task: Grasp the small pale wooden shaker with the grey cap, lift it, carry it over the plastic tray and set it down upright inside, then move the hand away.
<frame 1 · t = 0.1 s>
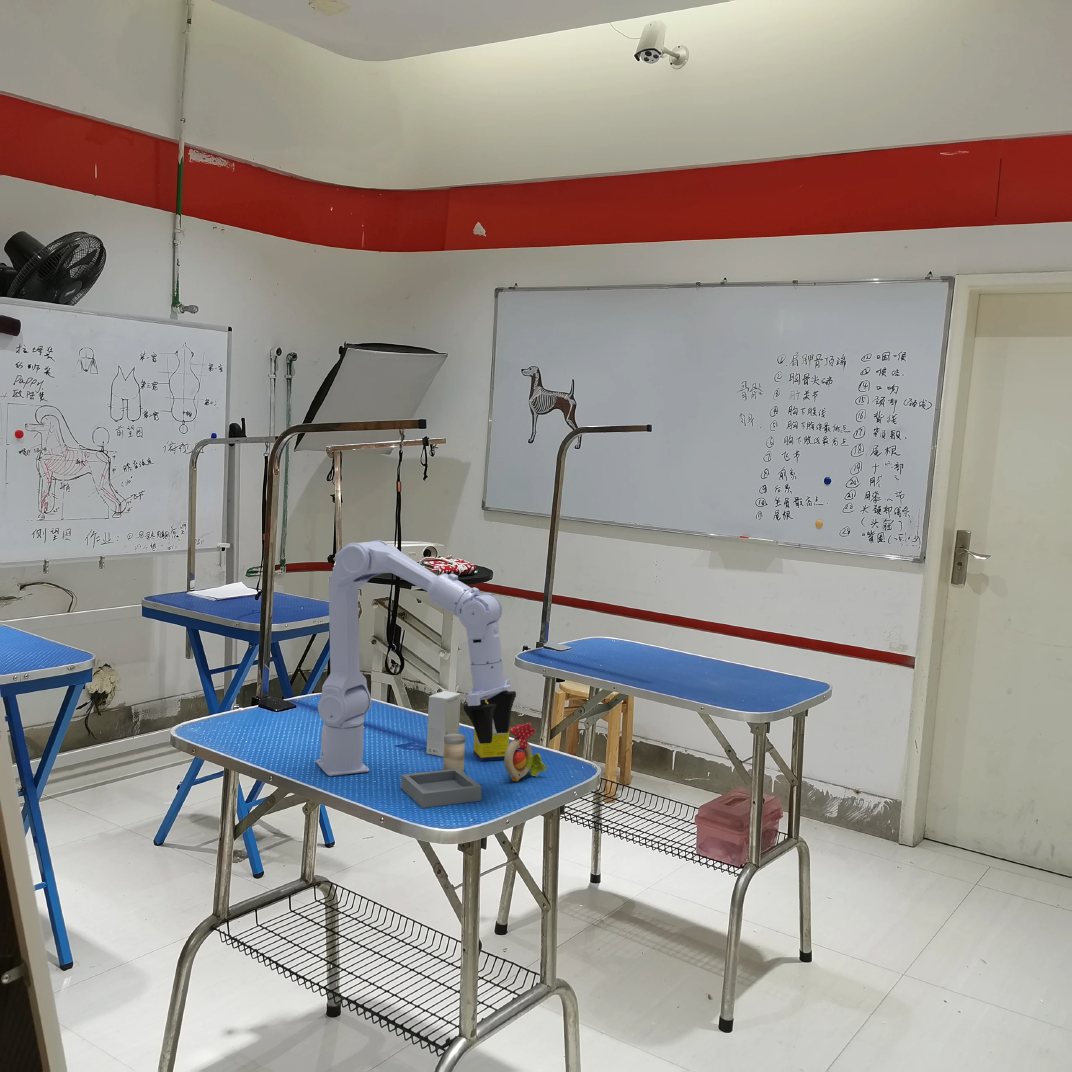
hand: (494, 737, 179), 11 cm above the table, tool pointing down, fingers open, 7 cm apart
tray: (440, 794, 179), on the table
supplement box: (490, 757, 203), on the table
bird rattle: (522, 779, 190), on the table
shaker: (453, 772, 192), on the table
skincare box: (442, 753, 205), on the table
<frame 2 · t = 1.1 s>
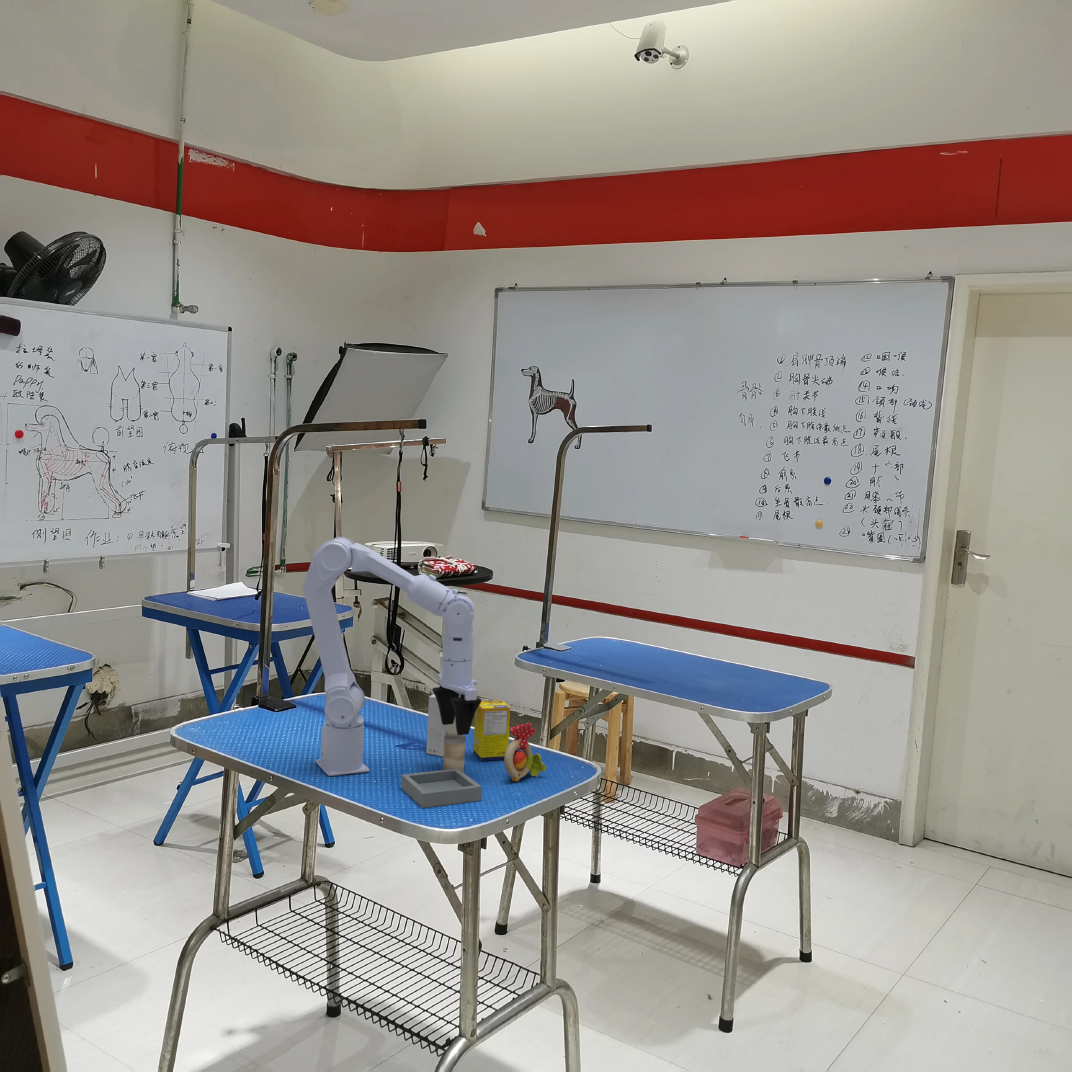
hand: (455, 729, 192), 8 cm above the table, tool pointing down, fingers open, 7 cm apart
nothing on the table moved.
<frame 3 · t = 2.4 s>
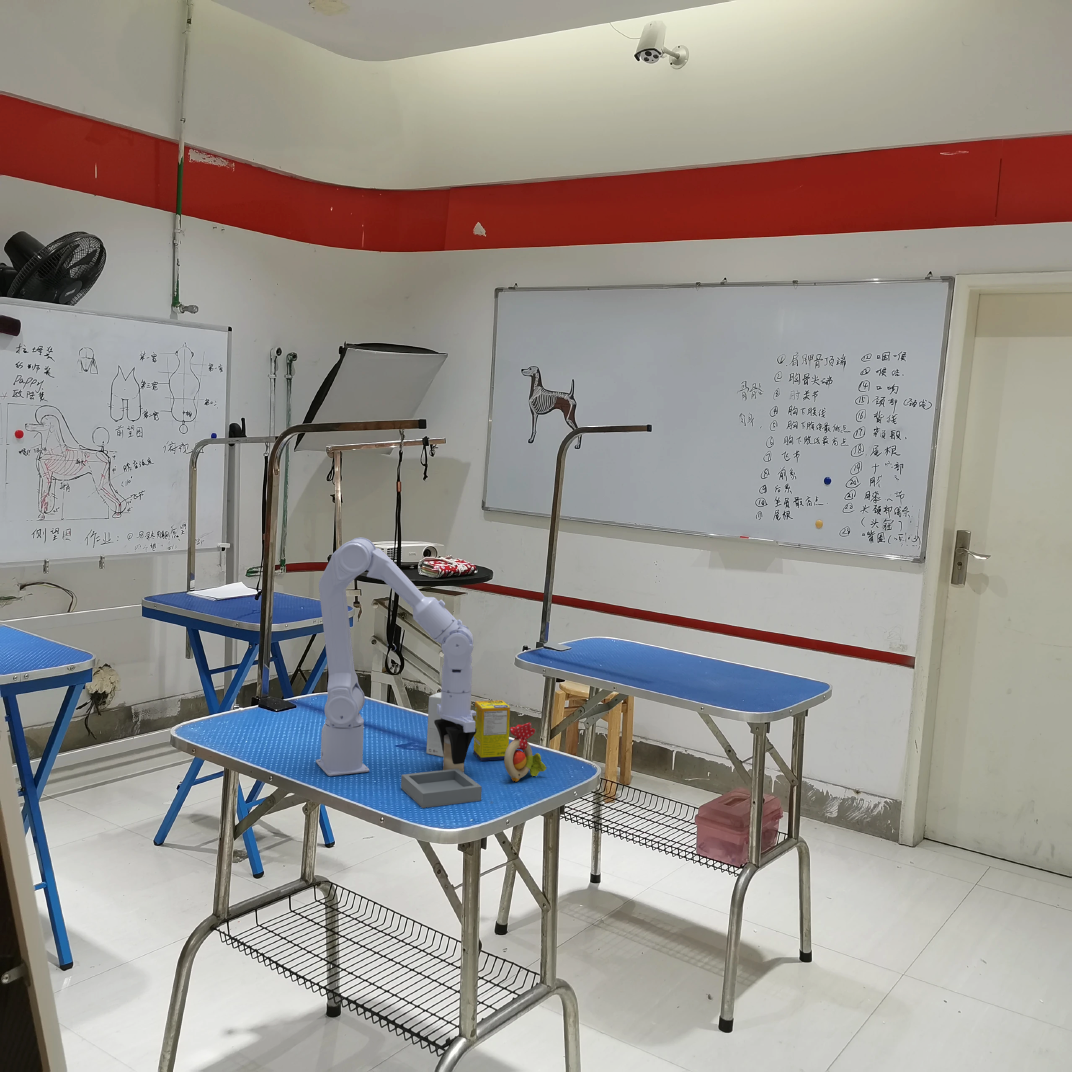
hand: (453, 759, 192), 2 cm above the table, tool pointing down, fingers closed on shaker, 4 cm apart
shaker: (453, 772, 192), on the table, touching gripper
everything else where it was.
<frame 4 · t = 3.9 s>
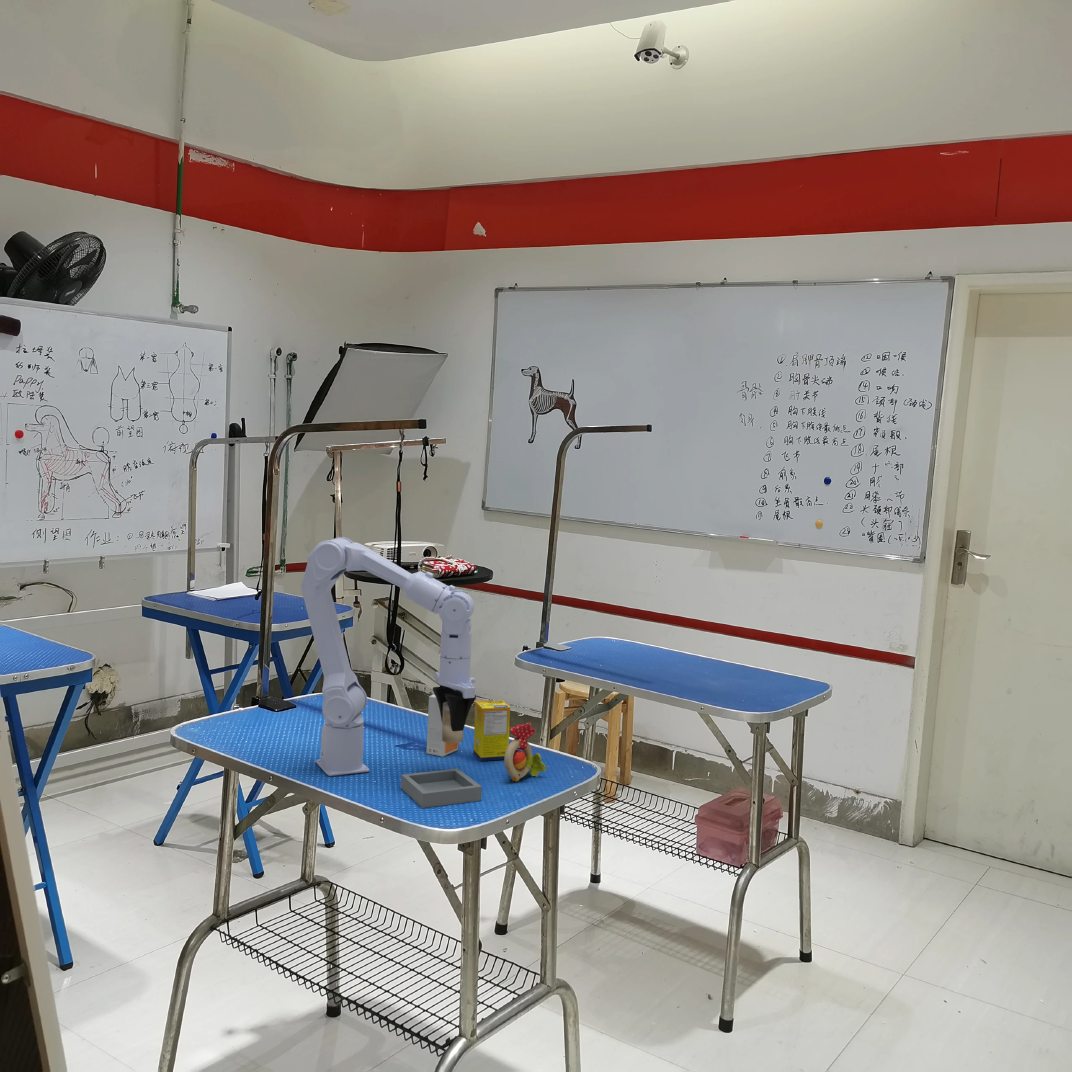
hand: (452, 727, 189), 9 cm above the table, tool pointing down, fingers closed on shaker, 4 cm apart
shaker: (452, 740, 189), point 7 cm above the table, touching gripper
everything else where it was.
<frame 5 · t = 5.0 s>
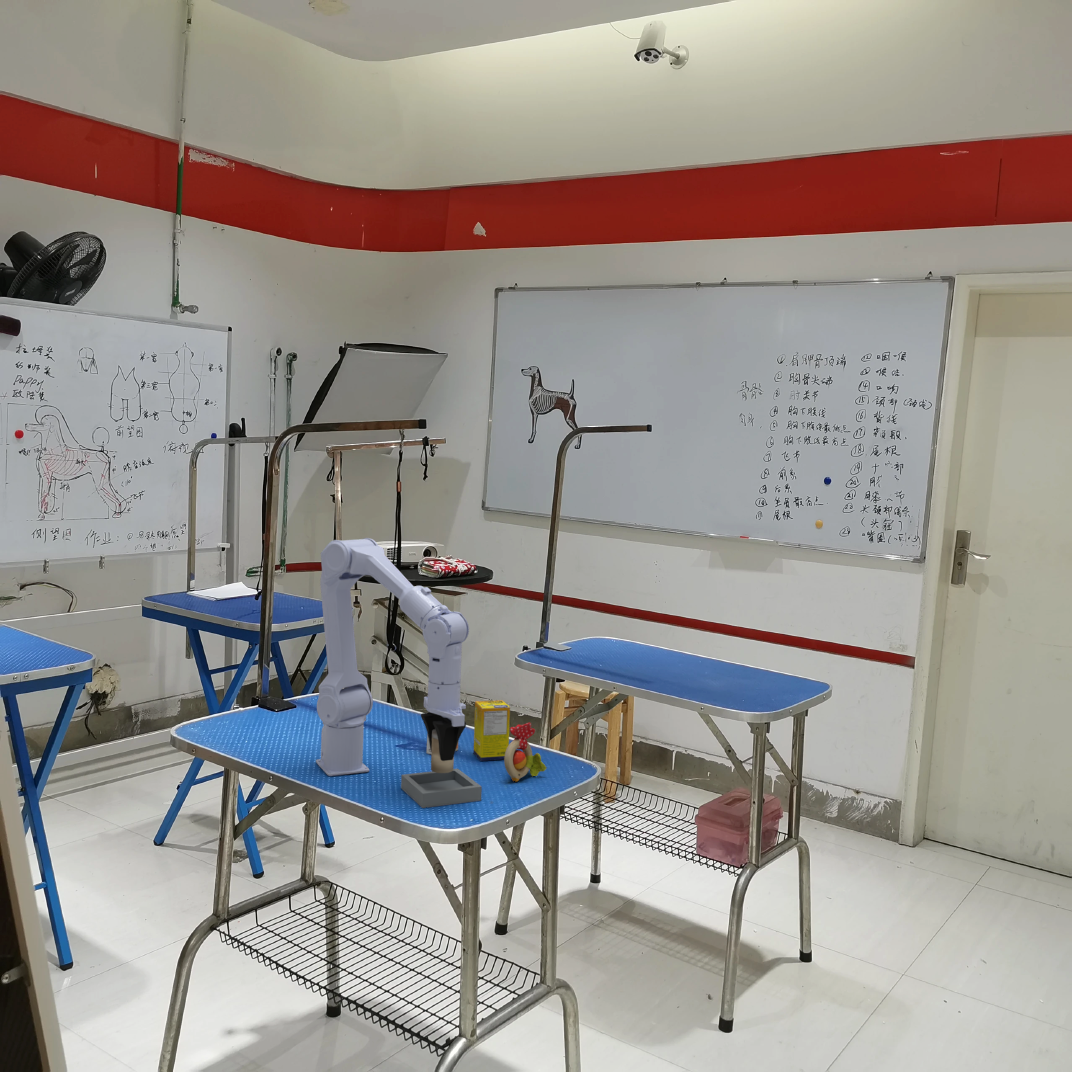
hand: (442, 756, 179), 7 cm above the table, tool pointing down, fingers closed on shaker, 4 cm apart
shaker: (442, 769, 179), point 5 cm above the table, touching gripper
everything else where it was.
when the fingers open (5 cm above the table, at t = 5.8 s): shaker drops 1 cm, resting on tray.
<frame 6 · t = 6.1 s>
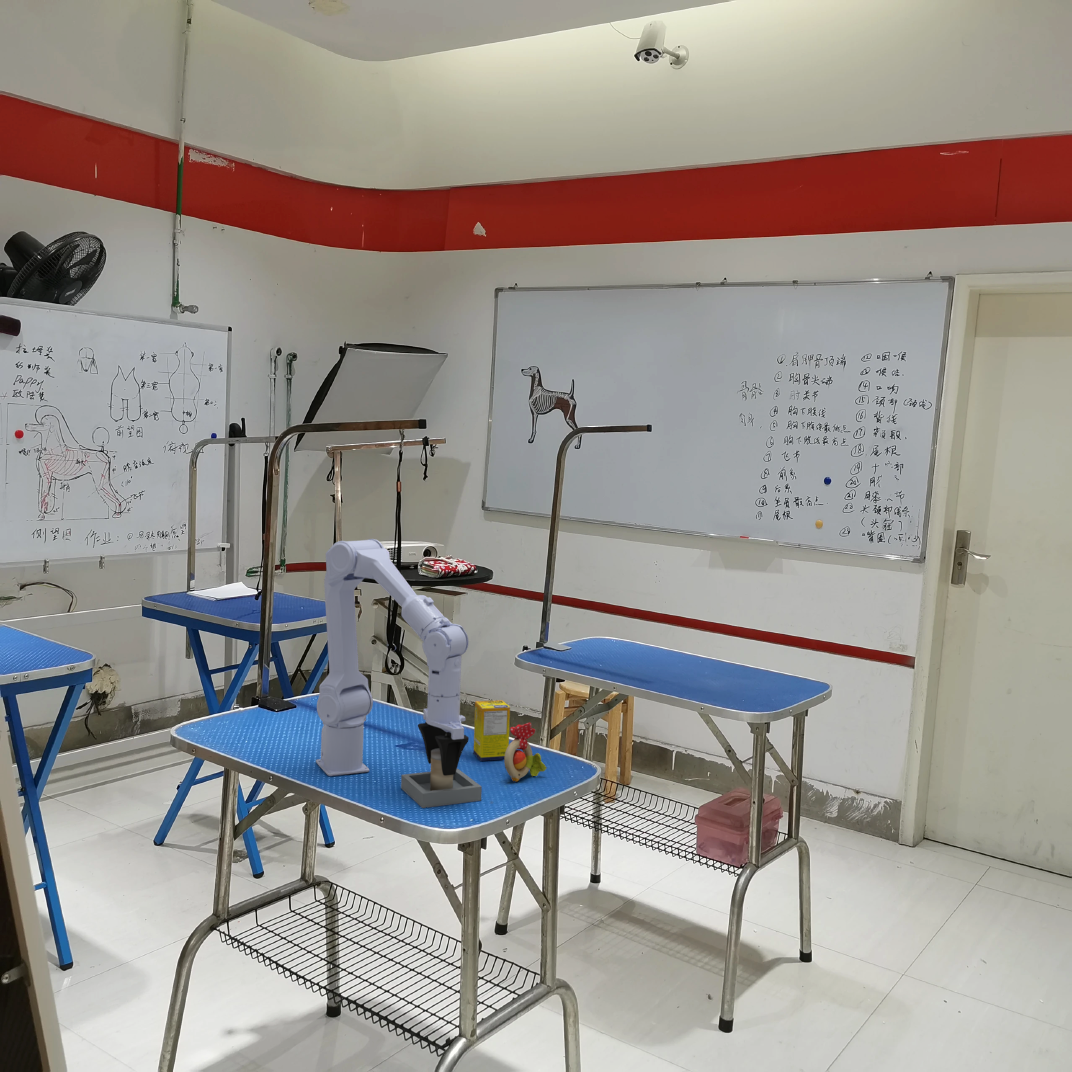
hand: (441, 768, 179), 5 cm above the table, tool pointing down, fingers open, 7 cm apart
shaker: (441, 789, 179), point 1 cm above the table, touching tray
everything else where it was.
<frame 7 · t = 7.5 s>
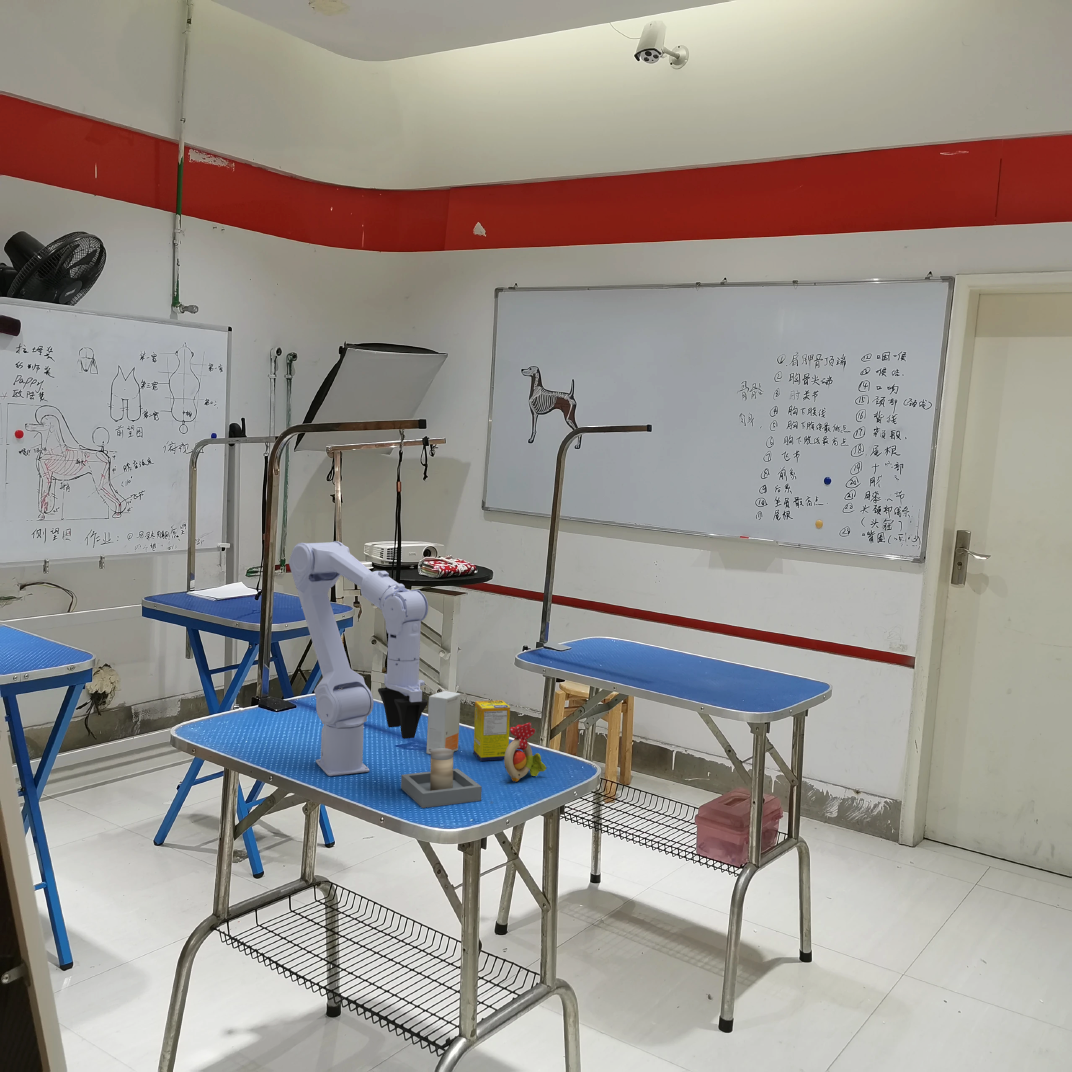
hand: (401, 732, 181), 10 cm above the table, tool pointing down, fingers open, 7 cm apart
nothing on the table moved.
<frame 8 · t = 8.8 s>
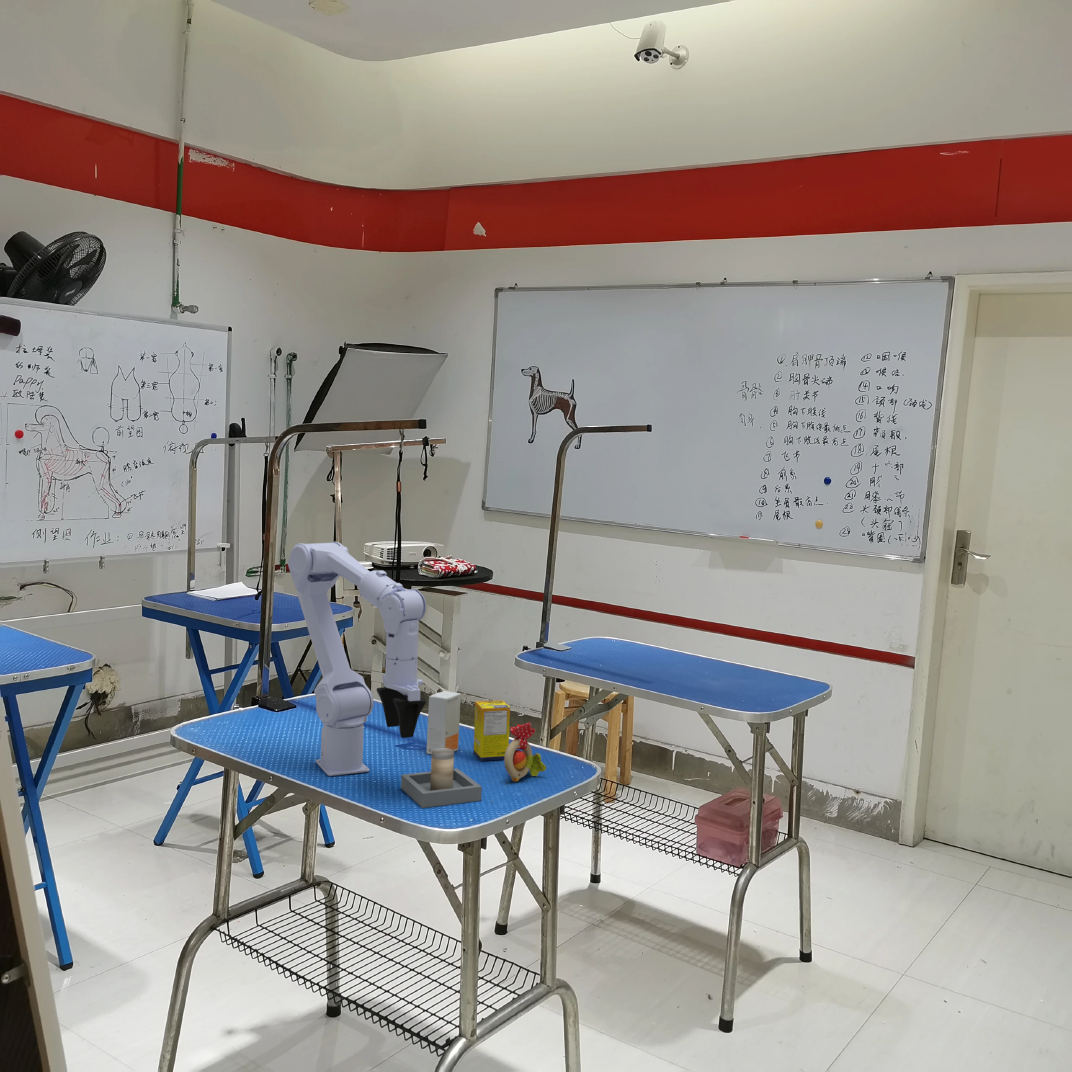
hand: (399, 731, 181), 10 cm above the table, tool pointing down, fingers open, 7 cm apart
nothing on the table moved.
at the end: shaker 0.1 cm off-centre on the tray, point 0.8 cm above the tray's base; shaker tilted 1°; the gripper is holding nothing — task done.
